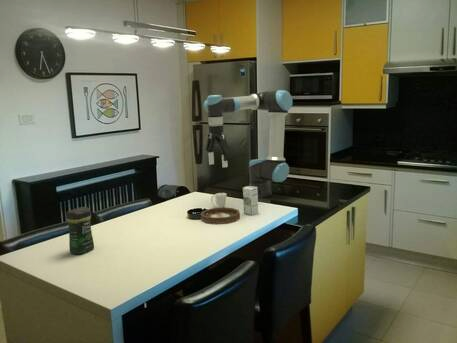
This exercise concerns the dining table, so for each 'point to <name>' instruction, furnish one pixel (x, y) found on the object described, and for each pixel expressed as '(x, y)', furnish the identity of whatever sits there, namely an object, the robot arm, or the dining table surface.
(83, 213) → the coffee jar
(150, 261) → the dining table surface
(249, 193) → the syrup box
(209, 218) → the round tray
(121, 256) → the dining table surface
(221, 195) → the cup
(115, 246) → the dining table surface
